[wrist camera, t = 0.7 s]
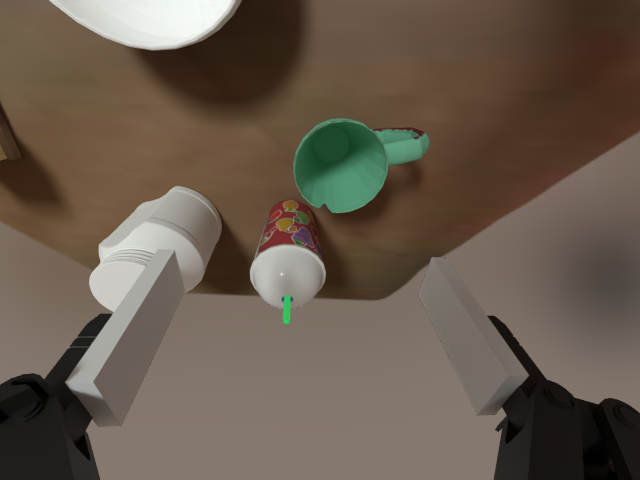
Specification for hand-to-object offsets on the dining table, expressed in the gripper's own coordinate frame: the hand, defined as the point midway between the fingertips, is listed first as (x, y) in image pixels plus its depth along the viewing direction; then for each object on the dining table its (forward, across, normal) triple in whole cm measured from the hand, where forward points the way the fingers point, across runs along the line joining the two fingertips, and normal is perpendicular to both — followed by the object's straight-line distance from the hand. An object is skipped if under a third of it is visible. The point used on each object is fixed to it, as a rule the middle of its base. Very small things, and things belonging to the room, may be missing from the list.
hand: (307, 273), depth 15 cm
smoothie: (+26, -1, -11) cm, 29 cm away
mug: (+26, +6, 0) cm, 27 cm away
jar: (+26, -17, -13) cm, 34 cm away
